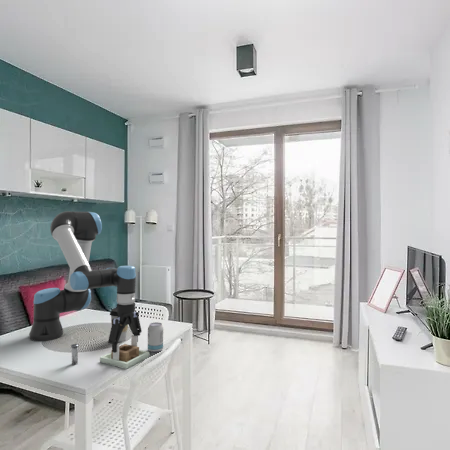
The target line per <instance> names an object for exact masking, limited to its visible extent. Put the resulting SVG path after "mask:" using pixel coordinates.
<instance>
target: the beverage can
mask: <svg viewBox="0 0 450 450" xmlns="http://www.w3.org/2000/svg"><path fill="white" fill-rule="evenodd" d="M163 349H164V326H163V323H161V322H159V321H158V322H151V323H149V325H148V327H147V350H148V352H149V353H153V354H154V353H160V352H161V351H162V350H163Z"/></svg>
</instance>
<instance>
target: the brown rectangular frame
mask: <svg viewBox="0 0 450 450" xmlns="http://www.w3.org/2000/svg"><path fill="white" fill-rule="evenodd" d="M139 350H140V346H138V345H137V346H132V345H131V344H128V343H127V344H126V343H124V344H121V345H119V361H123V362H128V361H130V360H132V359H134V358H136V357H138V356H139ZM110 353H111V359H113V352H112V349H111V352H110Z"/></svg>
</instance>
